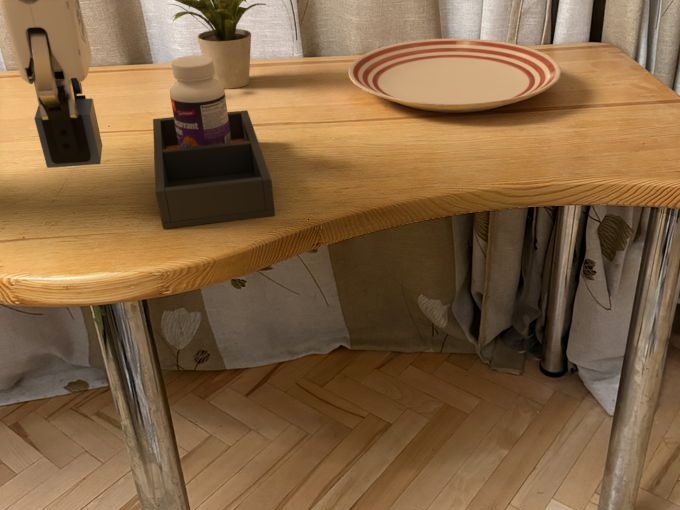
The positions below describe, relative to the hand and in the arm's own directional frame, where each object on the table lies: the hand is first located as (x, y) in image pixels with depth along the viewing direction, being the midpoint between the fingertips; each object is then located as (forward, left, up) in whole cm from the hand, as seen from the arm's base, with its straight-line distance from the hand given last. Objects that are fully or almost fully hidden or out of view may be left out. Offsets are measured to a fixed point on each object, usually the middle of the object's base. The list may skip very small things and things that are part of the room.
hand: (73, 148), depth 67 cm
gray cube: (0, 0, -1) cm, 1 cm away
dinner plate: (+45, +24, -6) cm, 51 cm away
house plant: (+17, +37, -6) cm, 41 cm away
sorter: (+12, +3, -6) cm, 13 cm away
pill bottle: (+12, +7, -5) cm, 15 cm away
